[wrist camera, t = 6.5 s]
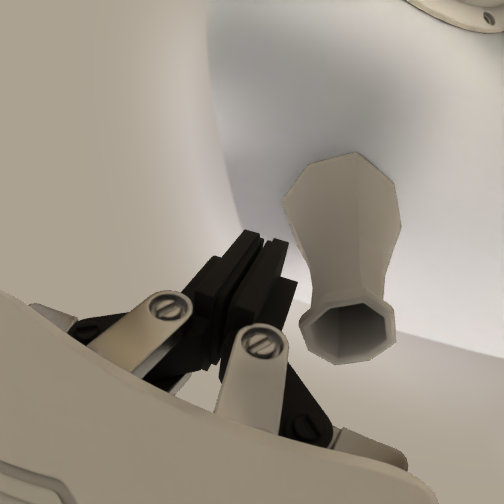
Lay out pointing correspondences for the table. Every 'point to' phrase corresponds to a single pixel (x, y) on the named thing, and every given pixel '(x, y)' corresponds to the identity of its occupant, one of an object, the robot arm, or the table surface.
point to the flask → (345, 255)
